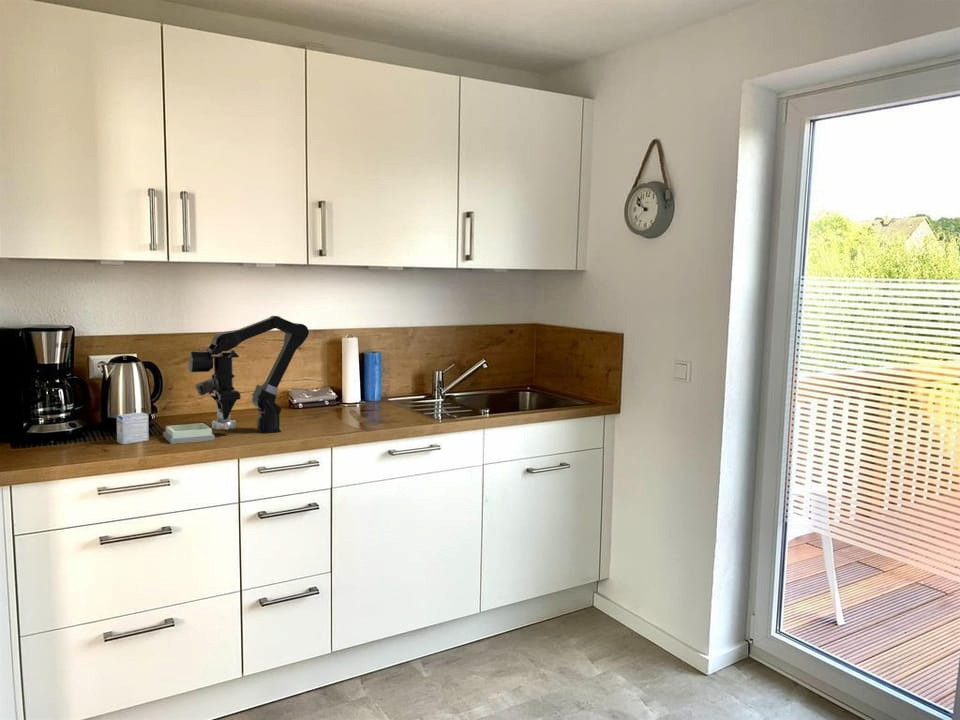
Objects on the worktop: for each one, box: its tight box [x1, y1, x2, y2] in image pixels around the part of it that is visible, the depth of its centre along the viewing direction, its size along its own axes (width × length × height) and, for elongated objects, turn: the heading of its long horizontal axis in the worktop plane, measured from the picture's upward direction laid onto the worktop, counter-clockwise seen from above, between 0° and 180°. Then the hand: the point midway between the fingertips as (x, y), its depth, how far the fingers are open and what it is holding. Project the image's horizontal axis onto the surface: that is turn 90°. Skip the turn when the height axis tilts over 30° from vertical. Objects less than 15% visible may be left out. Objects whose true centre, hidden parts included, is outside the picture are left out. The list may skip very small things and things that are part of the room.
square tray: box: [162, 422, 216, 445], centre depth 226 cm, size 13×13×4 cm
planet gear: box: [211, 408, 236, 430], centre depth 232 cm, size 7×7×6 cm
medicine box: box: [116, 412, 149, 445], centre depth 219 cm, size 8×4×9 cm, turn 141°
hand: (223, 418), depth 232 cm, fingers closed on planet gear, 4 cm apart
